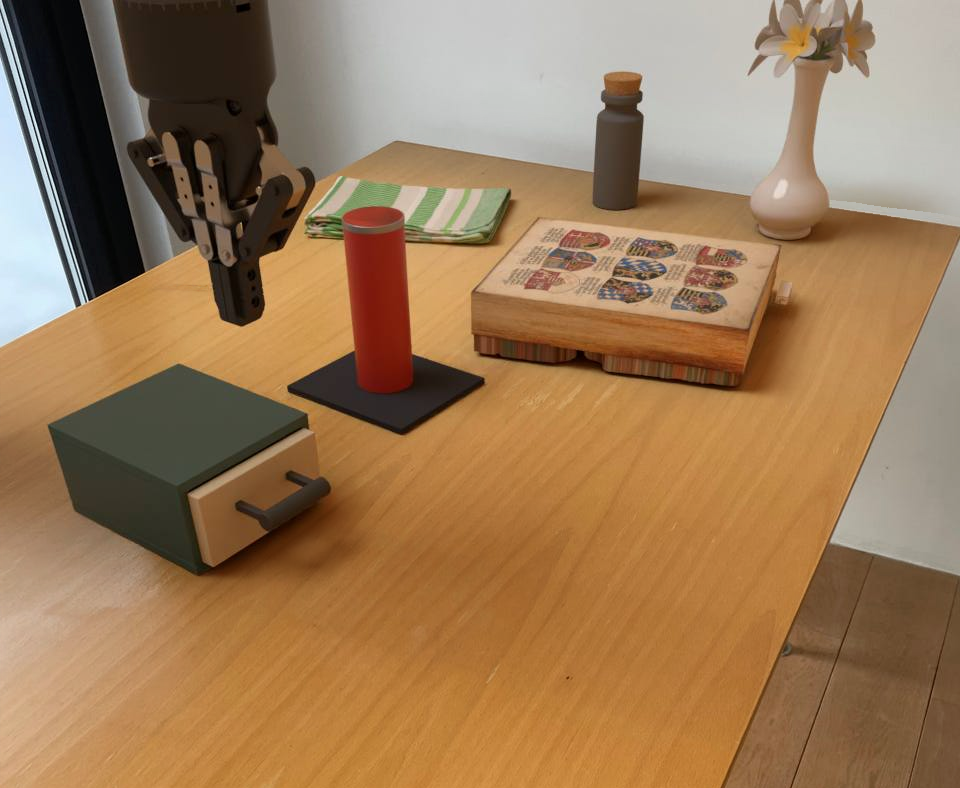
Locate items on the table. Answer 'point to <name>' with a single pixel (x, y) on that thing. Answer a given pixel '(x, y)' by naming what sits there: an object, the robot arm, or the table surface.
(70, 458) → the cabinet
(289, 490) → the drawer
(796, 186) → the flower vase
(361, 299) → the tin
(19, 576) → the table surface
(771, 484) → the table surface
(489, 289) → the wooden box
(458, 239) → the dish towel
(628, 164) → the bottle
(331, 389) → the mat
